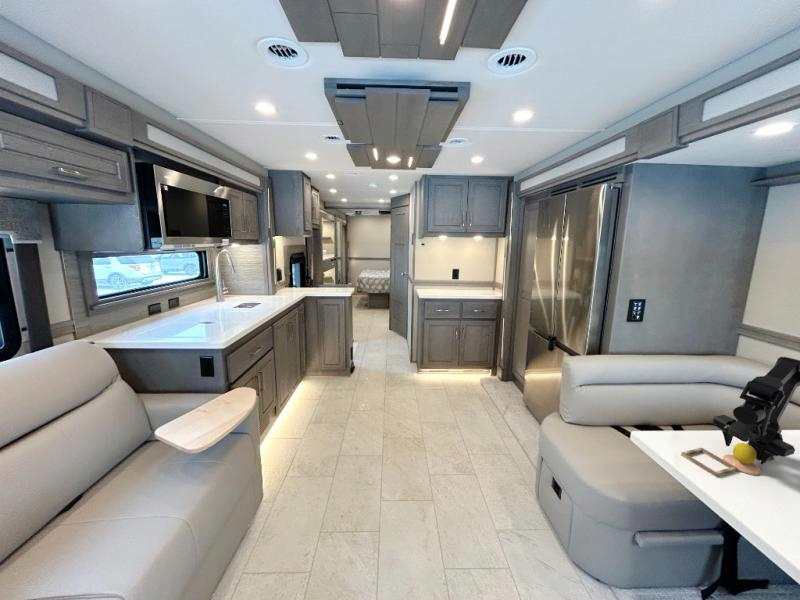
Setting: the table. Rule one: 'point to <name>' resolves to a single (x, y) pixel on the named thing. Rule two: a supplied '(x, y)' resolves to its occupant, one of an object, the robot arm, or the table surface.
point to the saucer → (742, 465)
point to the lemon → (744, 453)
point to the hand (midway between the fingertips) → (744, 454)
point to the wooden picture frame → (698, 450)
